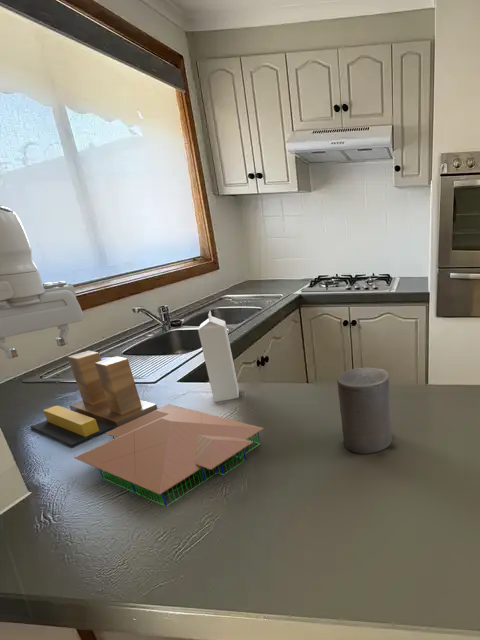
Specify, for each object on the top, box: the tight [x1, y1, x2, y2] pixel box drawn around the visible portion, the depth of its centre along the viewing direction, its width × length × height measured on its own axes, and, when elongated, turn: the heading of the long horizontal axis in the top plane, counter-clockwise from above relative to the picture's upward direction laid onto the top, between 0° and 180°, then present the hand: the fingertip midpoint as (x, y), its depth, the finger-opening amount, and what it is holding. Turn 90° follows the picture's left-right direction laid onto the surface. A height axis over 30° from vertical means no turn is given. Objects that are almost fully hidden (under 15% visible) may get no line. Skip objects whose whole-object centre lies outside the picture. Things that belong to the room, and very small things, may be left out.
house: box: [74, 403, 265, 508], centre depth 81 cm, size 23×33×8 cm
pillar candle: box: [336, 367, 393, 455], centre depth 80 cm, size 10×10×15 cm
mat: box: [29, 419, 116, 448], centre depth 97 cm, size 20×9×1 cm, turn 59°
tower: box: [67, 350, 159, 428], centre depth 103 cm, size 22×10×14 cm, turn 59°
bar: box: [42, 405, 99, 437], centre depth 97 cm, size 18×3×3 cm, turn 59°
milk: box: [197, 310, 240, 403], centre depth 105 cm, size 6×6×22 cm
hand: (38, 351), depth 92 cm, fingers open, 8 cm apart
